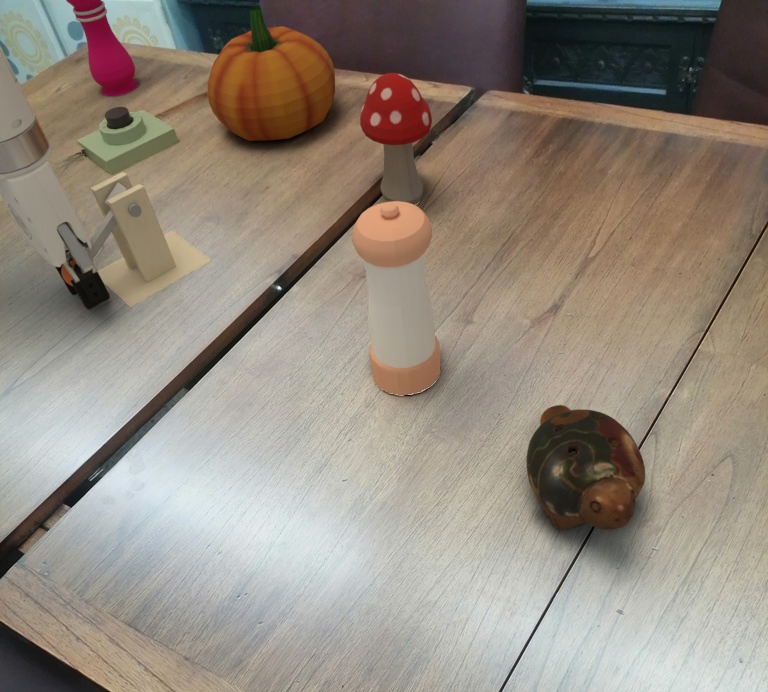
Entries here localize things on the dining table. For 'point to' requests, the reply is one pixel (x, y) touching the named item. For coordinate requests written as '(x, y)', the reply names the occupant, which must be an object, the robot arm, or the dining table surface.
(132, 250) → the wooden pivot stand
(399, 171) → the decorative mushroom
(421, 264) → the salt shaker
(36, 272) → the dining table surface
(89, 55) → the pepper mill
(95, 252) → the switch lever
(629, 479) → the decorative turtle
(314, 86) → the pumpkin
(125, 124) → the button
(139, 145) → the control block
